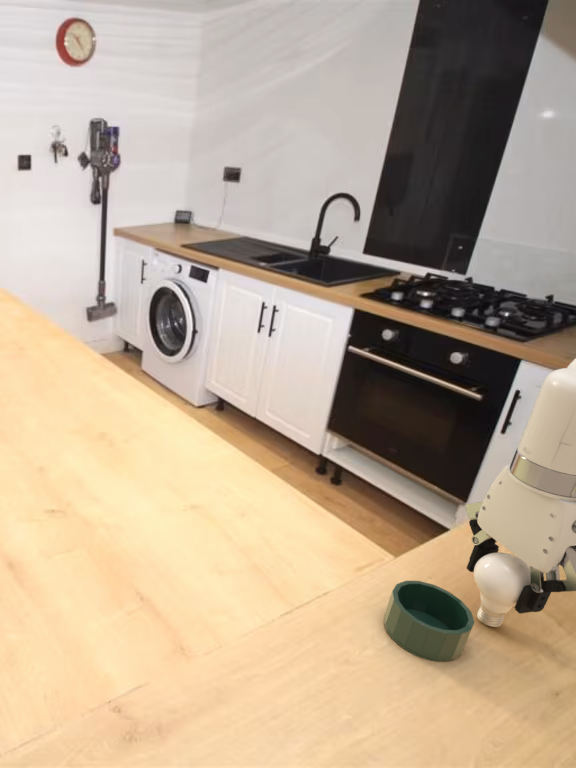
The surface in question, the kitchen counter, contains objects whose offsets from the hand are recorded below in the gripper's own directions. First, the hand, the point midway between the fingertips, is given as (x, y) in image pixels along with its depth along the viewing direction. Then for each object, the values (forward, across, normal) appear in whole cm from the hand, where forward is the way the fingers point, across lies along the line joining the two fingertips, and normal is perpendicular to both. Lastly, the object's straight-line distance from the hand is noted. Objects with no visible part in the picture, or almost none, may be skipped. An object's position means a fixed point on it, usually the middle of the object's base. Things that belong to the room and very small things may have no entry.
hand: (501, 588), depth 70 cm
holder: (+6, 0, +10) cm, 12 cm away
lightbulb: (+6, 0, 0) cm, 6 cm away
